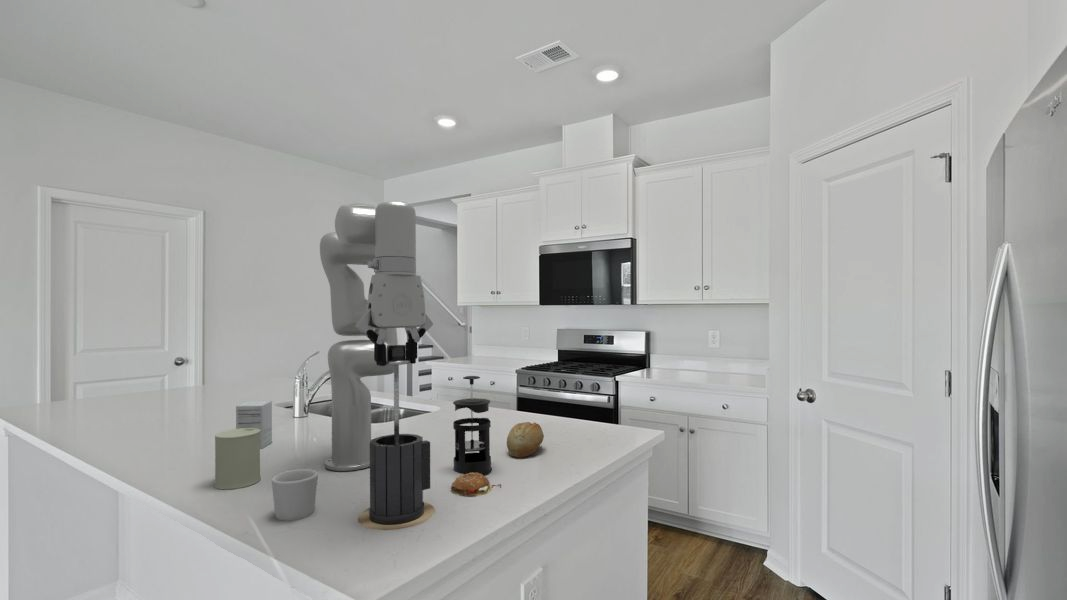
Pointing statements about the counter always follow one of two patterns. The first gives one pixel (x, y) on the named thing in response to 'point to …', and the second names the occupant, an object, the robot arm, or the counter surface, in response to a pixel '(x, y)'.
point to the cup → (294, 493)
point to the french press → (472, 460)
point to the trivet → (428, 513)
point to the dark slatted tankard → (398, 478)
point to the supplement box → (256, 419)
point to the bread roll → (524, 439)
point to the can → (237, 458)
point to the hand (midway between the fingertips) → (396, 363)
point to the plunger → (396, 380)
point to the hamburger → (471, 485)
